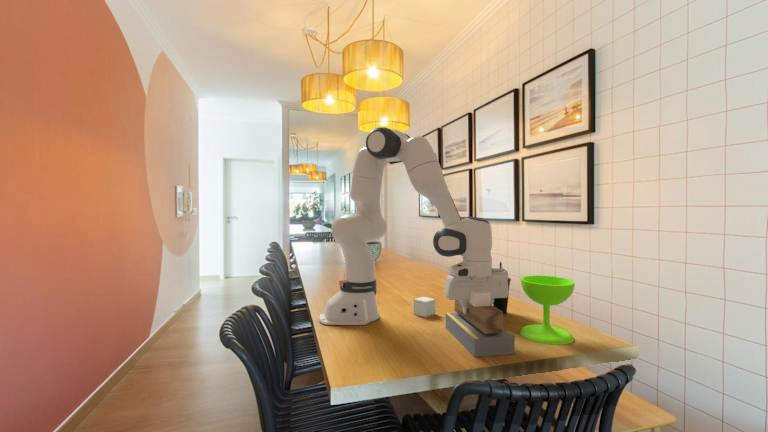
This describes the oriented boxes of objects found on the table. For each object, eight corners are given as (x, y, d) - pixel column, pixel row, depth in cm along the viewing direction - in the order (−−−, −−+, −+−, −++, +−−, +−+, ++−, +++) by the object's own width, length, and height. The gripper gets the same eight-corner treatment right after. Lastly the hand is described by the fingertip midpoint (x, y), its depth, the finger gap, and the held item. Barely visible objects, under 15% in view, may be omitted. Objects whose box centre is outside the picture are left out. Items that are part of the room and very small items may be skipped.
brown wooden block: (484, 333, 99) (485, 312, 99) (454, 310, 121) (454, 293, 121) (502, 332, 100) (503, 311, 100) (469, 310, 122) (469, 292, 122)
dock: (474, 356, 98) (474, 338, 98) (445, 327, 122) (445, 312, 121) (514, 354, 100) (514, 335, 100) (478, 325, 123) (478, 311, 123)
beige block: (474, 306, 105) (474, 293, 105) (468, 302, 110) (468, 289, 110) (490, 305, 106) (490, 292, 106) (483, 301, 111) (483, 288, 111)
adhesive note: (413, 314, 137) (413, 299, 137) (423, 311, 141) (423, 296, 141) (425, 317, 133) (425, 302, 132) (435, 314, 137) (435, 299, 137)
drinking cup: (512, 311, 140) (513, 261, 139) (507, 316, 133) (508, 264, 133) (493, 308, 144) (493, 260, 143) (487, 313, 138) (488, 262, 137)
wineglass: (513, 326, 123) (514, 275, 122) (560, 327, 122) (561, 275, 122) (529, 344, 107) (530, 285, 106) (584, 345, 106) (585, 286, 106)
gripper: (503, 266, 115) (502, 308, 115) (442, 267, 112) (442, 311, 112) (513, 269, 109) (512, 314, 109) (449, 271, 105) (449, 317, 106)
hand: (476, 312), depth 110 cm, fingers closed on brown wooden block, 6 cm apart
